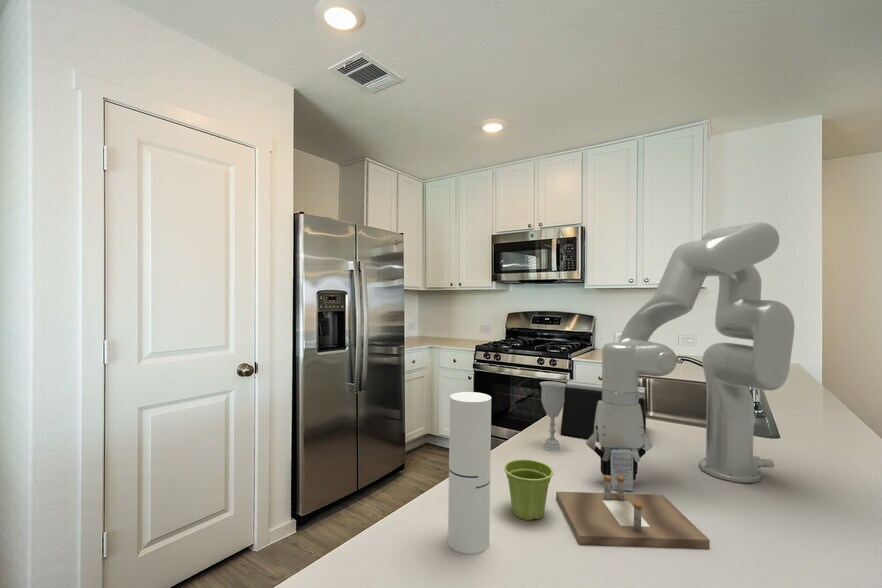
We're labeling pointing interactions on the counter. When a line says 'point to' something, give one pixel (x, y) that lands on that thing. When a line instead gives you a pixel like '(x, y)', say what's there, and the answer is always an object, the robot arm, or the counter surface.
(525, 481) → the plant pot
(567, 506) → the pin board
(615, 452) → the medicine box
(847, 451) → the counter surface
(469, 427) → the cylindrical container
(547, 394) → the chalice
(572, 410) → the device stand
